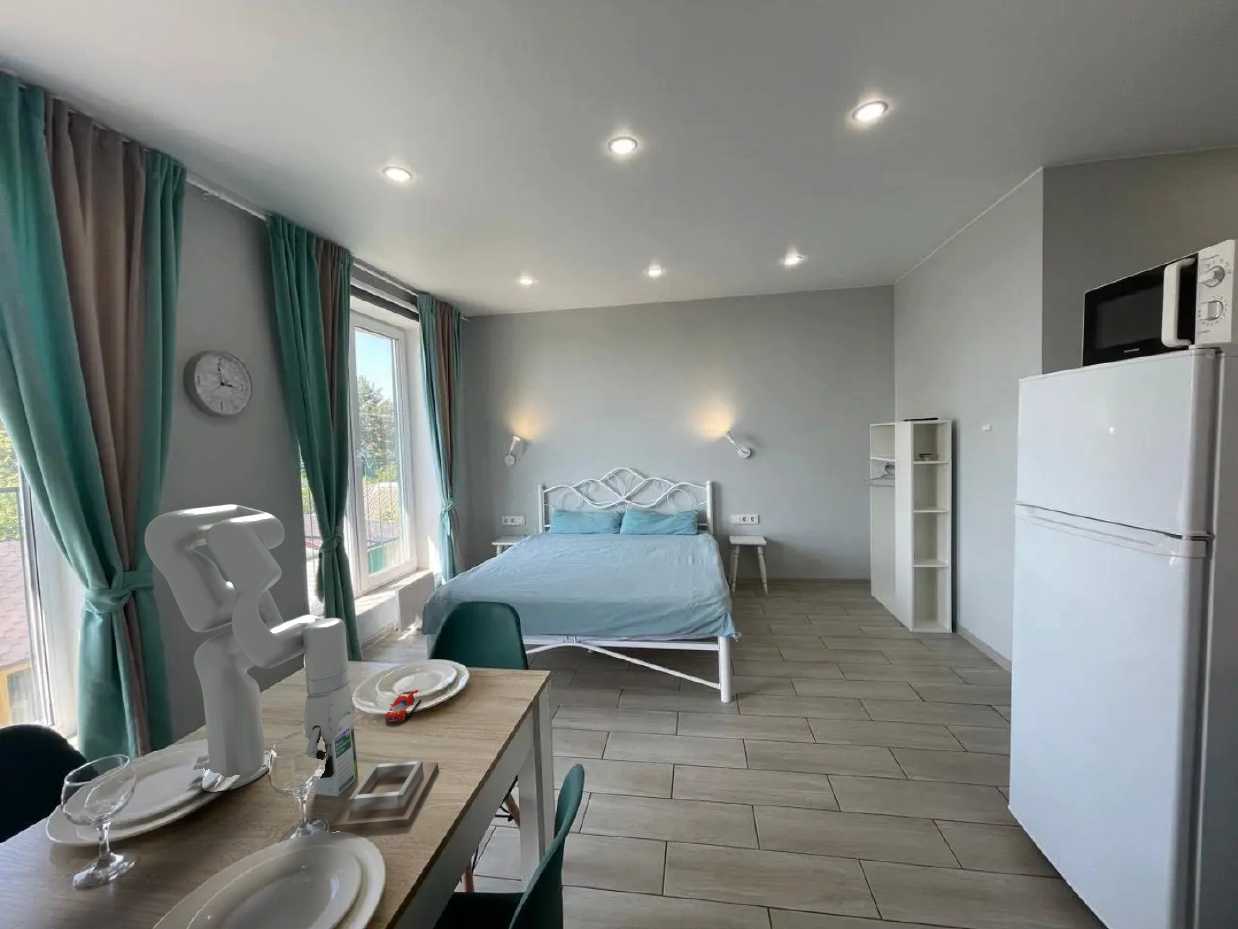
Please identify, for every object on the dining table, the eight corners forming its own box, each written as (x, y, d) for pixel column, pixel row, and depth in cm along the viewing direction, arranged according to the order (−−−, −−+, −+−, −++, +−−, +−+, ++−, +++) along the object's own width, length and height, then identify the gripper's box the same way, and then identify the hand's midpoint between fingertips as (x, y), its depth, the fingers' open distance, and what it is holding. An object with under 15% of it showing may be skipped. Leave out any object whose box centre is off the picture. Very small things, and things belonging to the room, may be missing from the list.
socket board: (330, 833, 87) (328, 812, 87) (372, 774, 103) (371, 756, 103) (408, 827, 88) (406, 805, 88) (438, 769, 104) (437, 751, 104)
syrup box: (338, 797, 97) (332, 726, 96) (313, 795, 98) (307, 725, 98) (358, 778, 102) (353, 711, 102) (335, 776, 104) (329, 709, 103)
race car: (403, 725, 123) (402, 710, 122) (381, 726, 123) (380, 711, 122) (424, 698, 136) (423, 684, 136) (405, 699, 136) (404, 685, 136)
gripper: (333, 663, 108) (339, 741, 109) (282, 704, 91) (289, 796, 91) (367, 661, 108) (373, 738, 109) (322, 701, 91) (329, 793, 92)
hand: (334, 764), depth 100 cm, fingers open, 6 cm apart
